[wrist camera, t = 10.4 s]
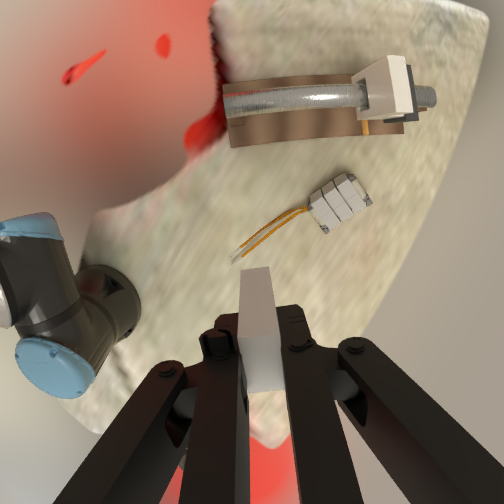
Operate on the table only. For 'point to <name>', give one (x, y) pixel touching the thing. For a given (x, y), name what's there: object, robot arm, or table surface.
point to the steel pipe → (309, 98)
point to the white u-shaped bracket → (385, 89)
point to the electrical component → (327, 206)
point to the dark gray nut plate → (413, 115)
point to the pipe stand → (301, 116)
